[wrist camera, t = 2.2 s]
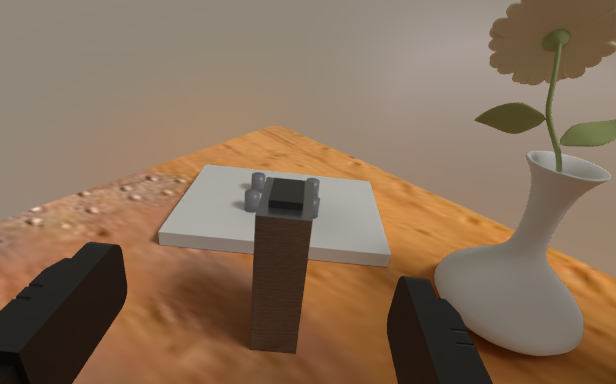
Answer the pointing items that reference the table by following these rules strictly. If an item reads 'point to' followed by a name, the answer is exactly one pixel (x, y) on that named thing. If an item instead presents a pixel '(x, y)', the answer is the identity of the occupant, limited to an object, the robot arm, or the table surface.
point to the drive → (280, 263)
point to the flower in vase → (535, 182)
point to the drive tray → (238, 227)
